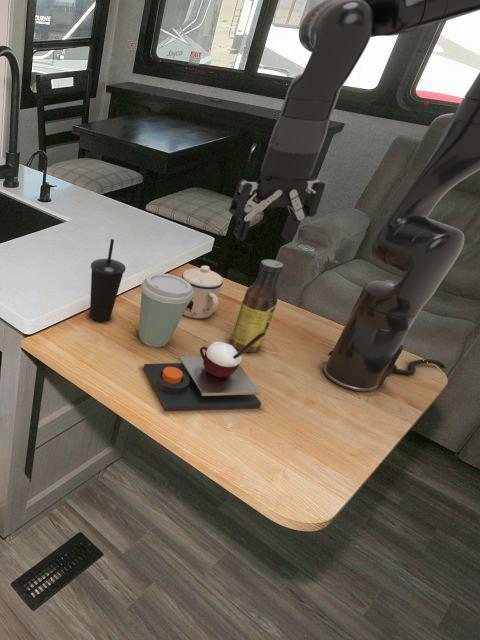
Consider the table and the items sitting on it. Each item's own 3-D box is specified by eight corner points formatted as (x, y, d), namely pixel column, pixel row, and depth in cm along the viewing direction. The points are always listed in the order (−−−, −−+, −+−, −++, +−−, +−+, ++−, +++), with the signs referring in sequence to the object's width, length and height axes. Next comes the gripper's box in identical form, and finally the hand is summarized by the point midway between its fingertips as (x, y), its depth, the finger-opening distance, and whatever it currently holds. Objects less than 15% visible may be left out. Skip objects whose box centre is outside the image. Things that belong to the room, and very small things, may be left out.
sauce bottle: (263, 355, 112) (295, 272, 100) (232, 352, 113) (261, 269, 101) (255, 338, 117) (285, 258, 106) (226, 335, 118) (253, 255, 107)
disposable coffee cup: (151, 322, 123) (164, 264, 114) (189, 343, 115) (207, 284, 107) (120, 336, 118) (131, 277, 109) (158, 359, 111) (174, 298, 102)
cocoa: (191, 360, 104) (206, 309, 97) (219, 357, 105) (236, 306, 98) (217, 391, 96) (236, 337, 90) (248, 387, 97) (269, 334, 90)
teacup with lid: (167, 302, 130) (177, 260, 124) (200, 299, 132) (213, 257, 125) (191, 327, 121) (204, 283, 114) (227, 324, 122) (242, 280, 115)
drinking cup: (78, 312, 127) (88, 235, 115) (105, 307, 128) (118, 231, 117) (93, 328, 121) (105, 248, 109) (122, 322, 122) (137, 244, 111)
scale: (228, 366, 108) (232, 355, 107) (259, 408, 98) (264, 396, 96) (141, 369, 108) (144, 357, 106) (163, 411, 97) (167, 399, 95)
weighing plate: (231, 357, 106) (232, 355, 106) (259, 394, 96) (260, 391, 96) (178, 358, 106) (179, 356, 105) (201, 396, 96) (202, 393, 96)
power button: (177, 372, 103) (178, 366, 102) (183, 384, 100) (185, 377, 99) (159, 373, 102) (160, 366, 102) (165, 384, 100) (167, 378, 99)
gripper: (263, 152, 81) (233, 248, 90) (352, 151, 81) (313, 246, 91) (240, 140, 87) (215, 231, 96) (323, 139, 88) (290, 229, 97)
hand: (262, 238), depth 94 cm, fingers open, 8 cm apart
